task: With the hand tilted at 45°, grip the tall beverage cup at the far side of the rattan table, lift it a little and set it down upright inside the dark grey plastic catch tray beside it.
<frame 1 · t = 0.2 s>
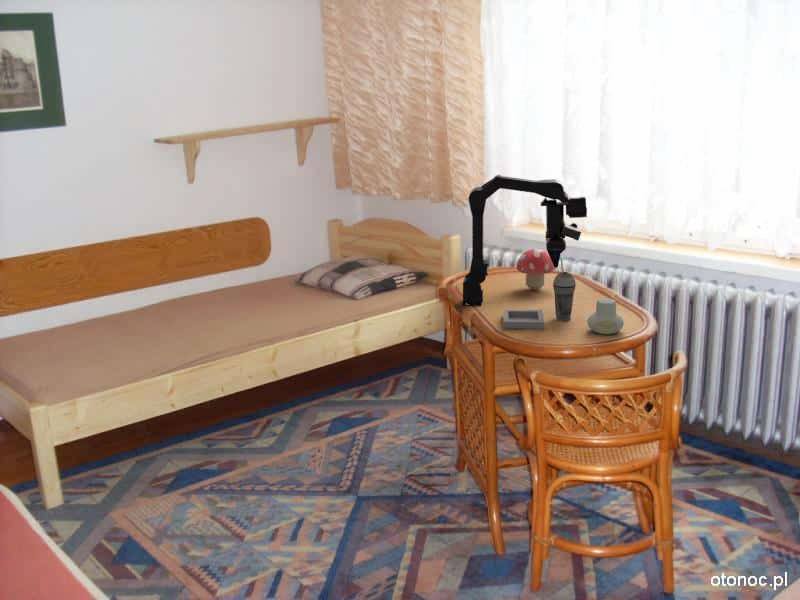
hand: (555, 264, 296), 14 cm above the table, tool pointing down, fingers open, 9 cm apart
air freshener: (605, 332, 273), on the table
catch tray: (523, 323, 282), on the table
decorative mushroom: (534, 290, 318), on the table
beverage cup: (563, 319, 285), on the table
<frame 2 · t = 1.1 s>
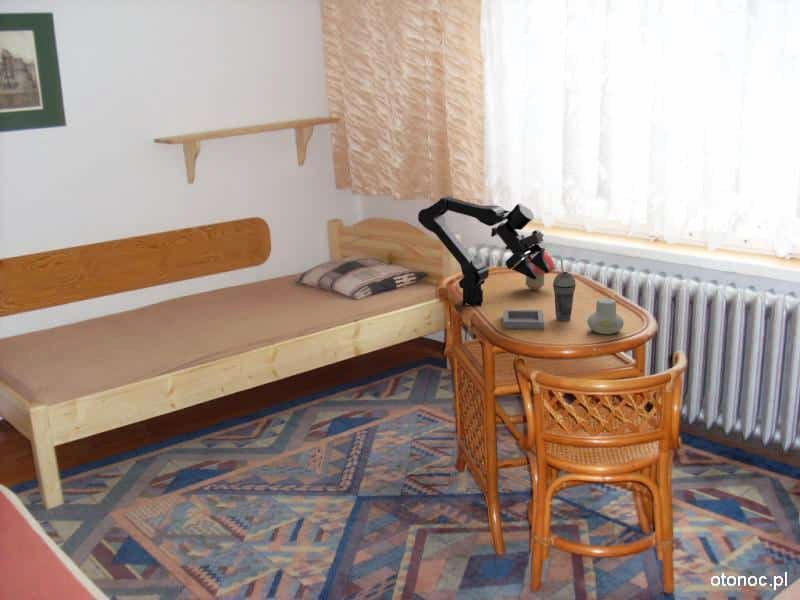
hand: (541, 275, 286), 13 cm above the table, tool tilted 45°, fingers open, 9 cm apart
nothing on the table moved.
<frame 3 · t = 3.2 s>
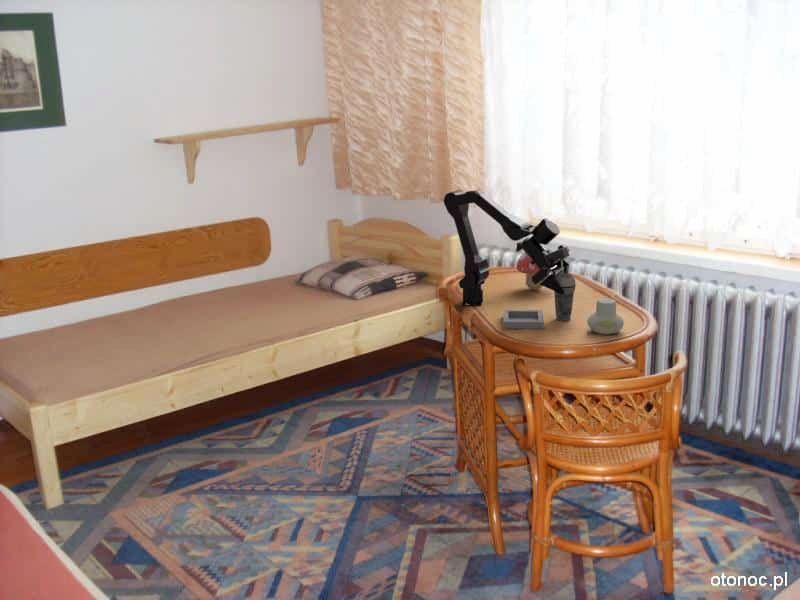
hand: (568, 290, 282), 10 cm above the table, tool tilted 45°, fingers closed on beverage cup, 7 cm apart
beverage cup: (563, 319, 285), on the table, touching gripper
everything else where it was.
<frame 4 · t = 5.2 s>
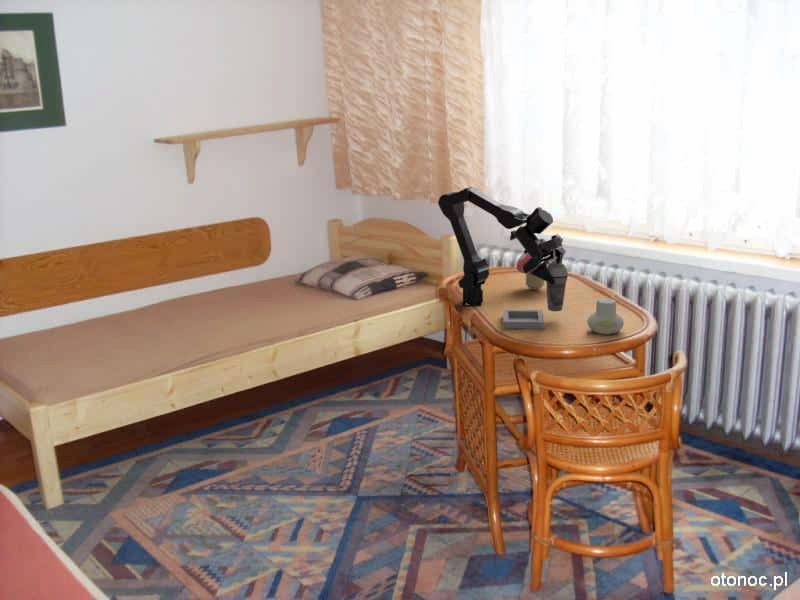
hand: (559, 281, 280), 13 cm above the table, tool tilted 45°, fingers closed on beverage cup, 7 cm apart
beverage cup: (554, 309, 283), point 3 cm above the table, touching gripper
everything else where it was.
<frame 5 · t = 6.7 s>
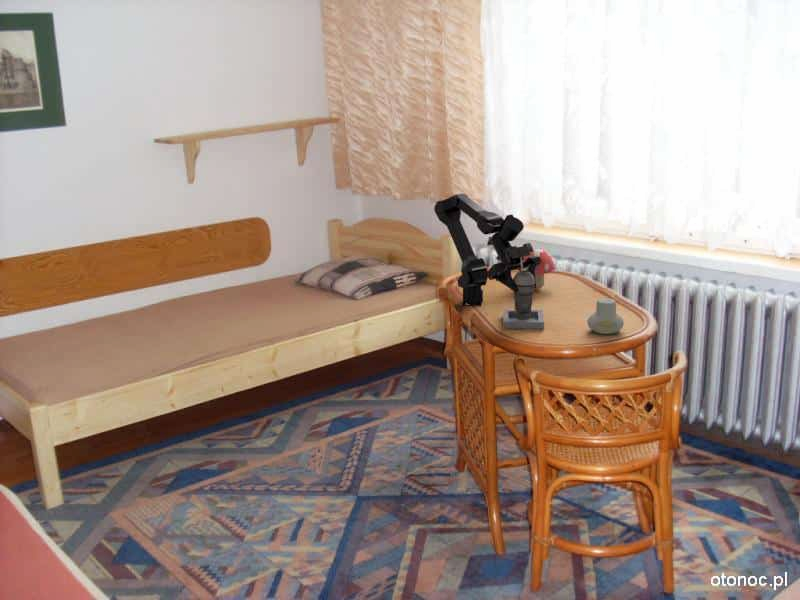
hand: (526, 290, 278), 11 cm above the table, tool tilted 45°, fingers closed on beverage cup, 7 cm apart
beverage cup: (522, 318, 282), point 1 cm above the table, touching gripper
everything else where it was.
when the fingers open (11 cm above the table, at t = 7.1 s): beverage cup drops 1 cm, resting on catch tray.
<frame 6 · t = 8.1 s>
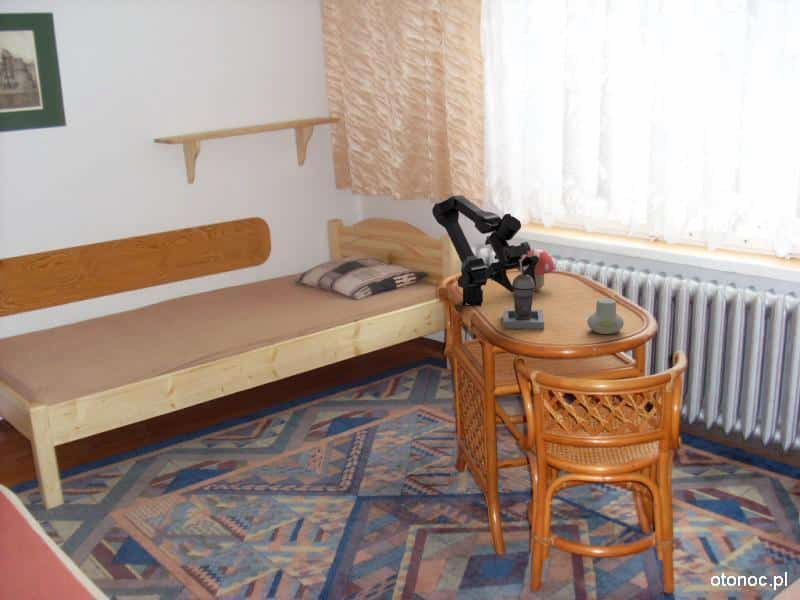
hand: (523, 289, 279), 11 cm above the table, tool tilted 45°, fingers open, 9 cm apart
beverage cup: (522, 321, 282), resting on catch tray
everything else where it was.
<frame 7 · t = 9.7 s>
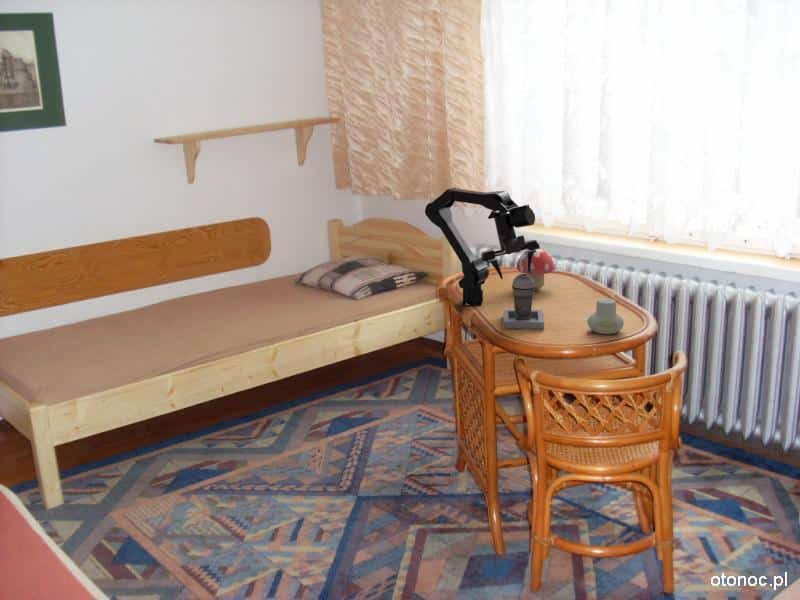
hand: (515, 275, 291), 12 cm above the table, tool pointing down, fingers open, 9 cm apart
nothing on the table moved.
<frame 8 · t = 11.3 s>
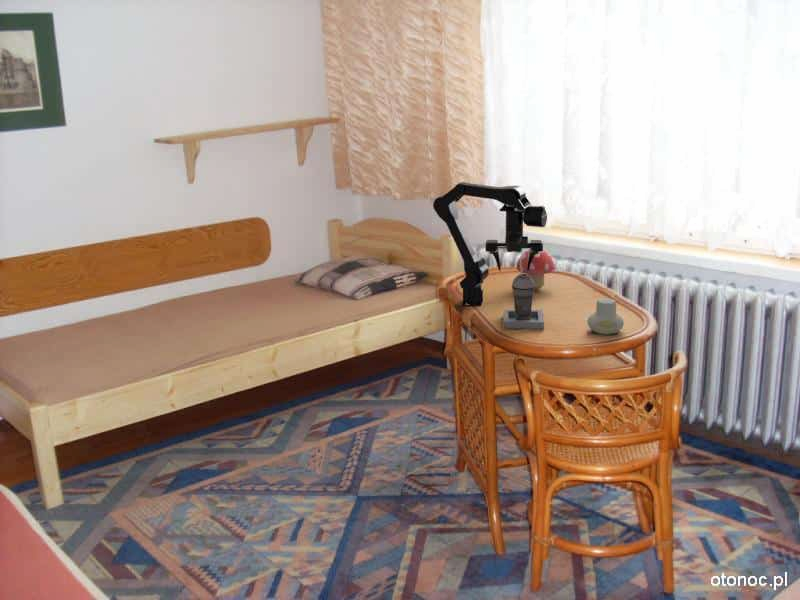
hand: (513, 270, 294), 13 cm above the table, tool pointing down, fingers open, 9 cm apart
nothing on the table moved.
at the end: beverage cup inside the target area on the catch tray (0.2 cm from its centre), point 0.4 cm above the catch tray's base; beverage cup tilted 0°; the gripper is holding nothing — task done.
